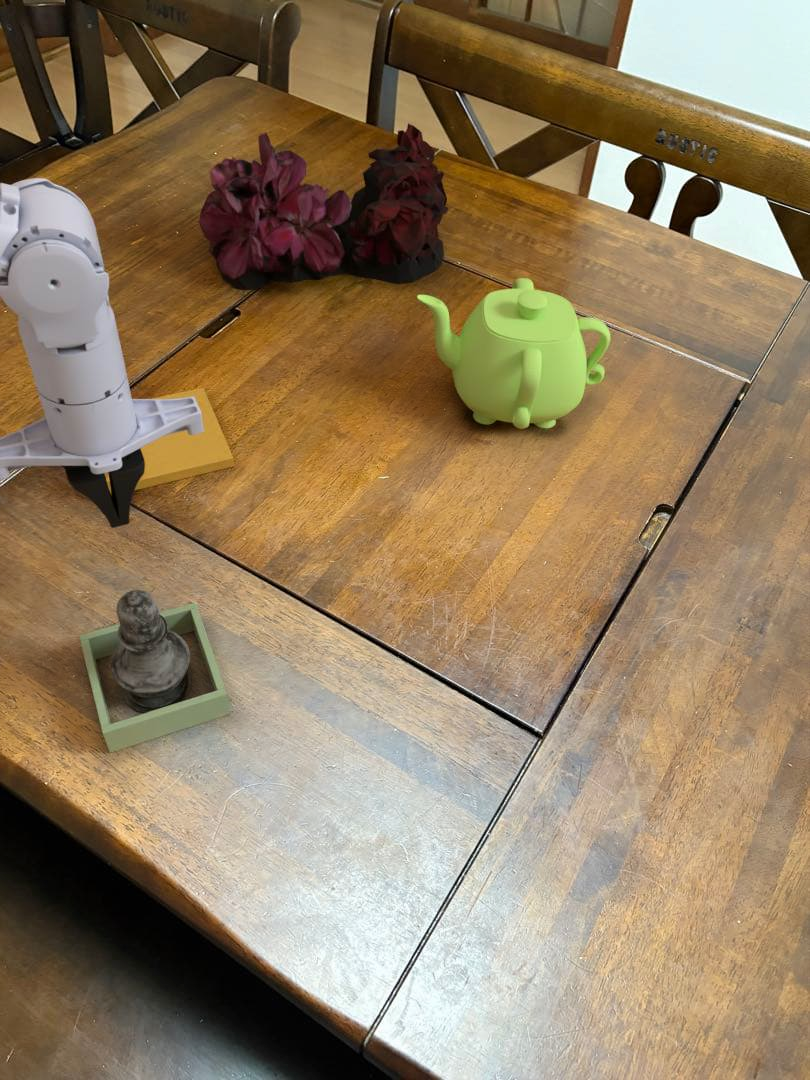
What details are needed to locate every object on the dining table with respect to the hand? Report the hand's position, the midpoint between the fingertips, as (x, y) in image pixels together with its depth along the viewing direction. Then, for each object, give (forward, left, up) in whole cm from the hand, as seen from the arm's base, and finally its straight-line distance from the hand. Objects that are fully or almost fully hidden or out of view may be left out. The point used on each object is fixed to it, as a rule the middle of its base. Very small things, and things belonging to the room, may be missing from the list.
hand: (117, 516), depth 70 cm
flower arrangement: (+33, +44, -10) cm, 56 cm away
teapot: (+42, +13, -10) cm, 45 cm away
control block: (+5, +18, -10) cm, 21 cm away
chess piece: (0, -9, -10) cm, 14 cm away
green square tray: (-1, -9, -10) cm, 14 cm away
